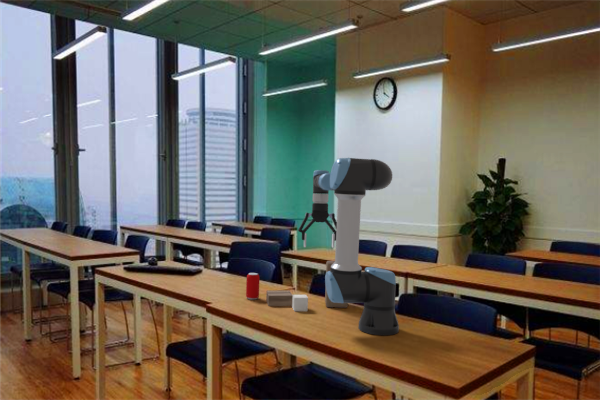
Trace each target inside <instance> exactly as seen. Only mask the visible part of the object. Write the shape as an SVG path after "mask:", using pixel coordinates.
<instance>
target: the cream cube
mask: <svg viewBox="0 0 600 400" xmlns="http://www.w3.org/2000/svg"><path fill="white" fill-rule="evenodd" d="M292 295H293V298H292V306H291V308H293V309H292V310H294V311H293V312H309V311H308V309H309V308H308V307H309V296H307V294H292Z"/></svg>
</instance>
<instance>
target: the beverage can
mask: <svg viewBox="0 0 600 400" xmlns="http://www.w3.org/2000/svg"><path fill="white" fill-rule="evenodd" d="M245 286H246V287H245V291H246V292H245V297H246V299H248V300H252V301H253V300H258V298H260V275H259V273H256V272H249V273H248V274H247V275H246V285H245Z"/></svg>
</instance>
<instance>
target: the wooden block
mask: <svg viewBox="0 0 600 400" xmlns="http://www.w3.org/2000/svg"><path fill="white" fill-rule="evenodd" d="M334 262H335V260H327V261H326V264H325V273H326V272H328V271H330V270H331V265H332V264H333V263H334ZM324 293H325V294H324V295H325V296H324V303H325V306H326V308H333V307H335V309H336V308H338V309H339V308H341V309H347V308H348V306H349V303H334V302H332V301H331V300H330V299H329V297H328V294H327V291H326V288H325V292H324Z"/></svg>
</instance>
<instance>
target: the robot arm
mask: <svg viewBox="0 0 600 400" xmlns="http://www.w3.org/2000/svg"><path fill="white" fill-rule="evenodd" d="M312 176H313V177H312V202H313V203H312V205H311V206H312V210H311V212H310V213H309V212H308V211H307V212H305V214H304V217H303V220H302V222H301V224H300V226H299V228H298V230H297V231H298V232H299V233H301V240H302V241H303V248H307V233H306V232H307V231H308V230H309V228H311V227H312V225H313V224H315V223H325V224H326V225H327V226H328V228H329V229H330V231H332V234H331V248H333V249H335V251H334V252H335V253H334V261H335V262H334V263H333V264H332V265H331V270H330V271H328V272H326V271H325V276H324V279H325V280H324V283H325V284H324V285H325V289H326V291H327V294H328V297H329V299H330V300H331V301H332V302H334V303H348V304H351V303H353V304H355V303H356V304H360V303H362V304H363V309H362V313H361V315H360V319H359V321H358V329H359V330H360V331H361V332H363V333H366V334H370V335H376V336H391V335H392V336H393V335H395V334H398V333H399V331H400V330H399V329H400V326H399V325H400V324H399V322H398V318H397V315H396V289H397V288H396V287H397V286H396V285H397V283H396V278H397V277H396V274H395V273H394V272H393V271H391V270H388V269H385V268H379V267H374V266H373V267H371V266H367V267H365V268H364V271H362V269H363V267H362V266H361V265H360V264H359V246H360V244H359V243H360V229H361V228H360V227H361V211H362V210H361V207H362V199H363V198H365V197H366V195H367V193H366V191H379V190H383V189H386V188H387V187H389V186H390V184H391V183H392V181H393V171H392V169H391V168H390V166H389V165H388V164H387V163H386V162H385V161H382V160H380V159H379V160H378V159H373V158H371V159H369V158H368V159H367V158H356V157H355V158H352V157H340V158H337V159H336V160H335V161H334V162H333V164H332V167H331V171H330V172H329V170H326V169H325V170H323V169H316V170H314V171H313V175H312ZM329 191H333V195H334V196H335V197H336V198H337V212H336V213H337V214H336V215H337V216H336V215H335V213H334V212H331V213H329V204H328V202H329ZM310 217H312V219H311V220H310V221H309V222H308V223H307V221H308V219H309V218H310ZM328 218H330V219H331V220H332V223H333V225H334V226H333V225H332V224H331V223H330V221H329V220H328ZM306 223H307V225H306ZM305 225H306V226H305ZM304 226H305V227H304Z"/></svg>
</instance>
